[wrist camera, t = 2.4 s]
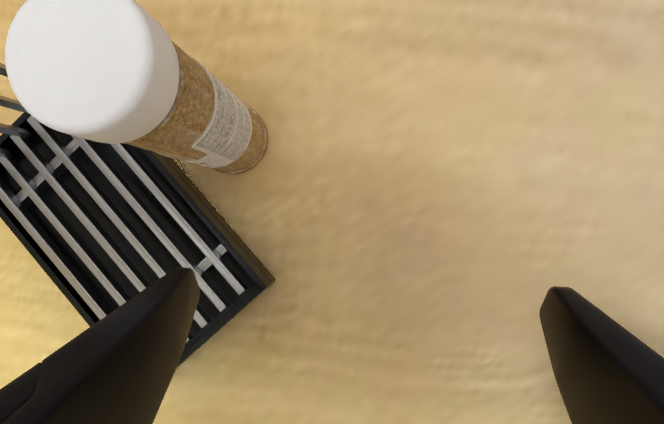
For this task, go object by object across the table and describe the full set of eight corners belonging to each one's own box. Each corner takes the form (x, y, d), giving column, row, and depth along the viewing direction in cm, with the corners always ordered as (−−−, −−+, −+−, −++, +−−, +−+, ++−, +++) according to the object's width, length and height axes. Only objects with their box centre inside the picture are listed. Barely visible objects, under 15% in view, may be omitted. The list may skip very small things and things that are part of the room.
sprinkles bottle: (189, 154, 24) (-31, 87, 11) (221, 92, 24) (38, -58, 10) (249, 187, 24) (101, 161, 10) (283, 124, 23) (175, 13, 10)
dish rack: (165, 377, 24) (70, 459, 16) (-2, 175, 25) (-169, 160, 17) (276, 279, 24) (232, 315, 16) (99, 75, 24) (-26, 12, 17)
